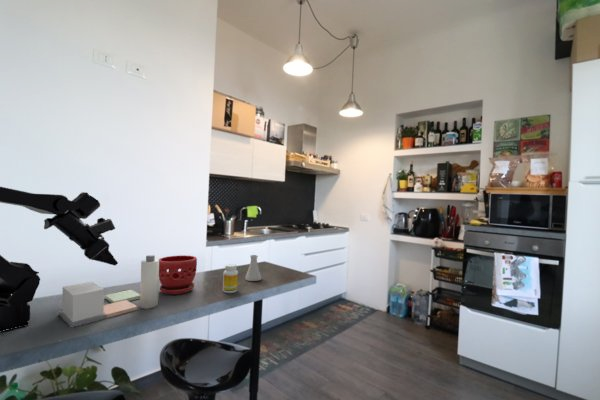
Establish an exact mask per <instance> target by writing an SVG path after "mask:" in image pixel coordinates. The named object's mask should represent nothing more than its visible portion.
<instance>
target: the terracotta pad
mask: <svg viewBox="0 0 600 400" xmlns="http://www.w3.org/2000/svg"><path fill="white" fill-rule="evenodd" d="M137 310H138V305H135V304H134V303H132V302H131V301H127V300H123V301H119V302H115V303H111V302H110V303H107V304H104V313H106V314H107V318H106V319H109V318H112V317H116V316H119V315H120V316H121V315H123V314H126V313H127V314H128V313H131V312H134V311H137Z"/></svg>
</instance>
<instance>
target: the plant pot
mask: <svg viewBox="0 0 600 400" xmlns="http://www.w3.org/2000/svg"><path fill="white" fill-rule="evenodd" d="M158 260H159V282H160V284H161V285H160V286H159V290H160V292H161V293H163V294H166V295H181V294H182V295H183V294H186V293H189V292H190V291H192V290H193V289H194V288H195V282H194V279H195V277H196V273H197V266H198V258H197V257H196V256H193V255H170V256H164V257H160V258H159V259H158ZM179 270H180V271H179Z"/></svg>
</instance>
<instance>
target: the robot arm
mask: <svg viewBox="0 0 600 400" xmlns="http://www.w3.org/2000/svg"><path fill="white" fill-rule="evenodd" d="M0 203H1V204H6V205H7V204H8V205H13V206H20V207H22V208H26V209H28V210H30V211H33V212H36V213H39V214H42V215H53V216H52V217H51V218H50V217H48V218H45V219H44V220H43V221H44V225H43V229H44V230H47V229H49V228H51V227H54V228H56V229H57V230H59V231H60V232H61V233H62V234H63V235H64V236H66V237H67V238H68V240H70V241H72V242H73V243H75V244H76V245H77V246H79V247H80V250H82V251H83V255H84V256H85V257H86V258H87V259H89V260H91V261H96V262H100V263H105V264H107V265H112V266H117V265H118V264H119V262H118V261H117V260H116V258H115V257H114V255H113V254H112V253H111V251H110V250H109V248H110V244H109V243H108V241H107V240H105V237H104V236H103V234H104V233H106V232H110V231H113V230H115V229H116V226H115V224H114V222H113V221H112V219H111V218H106V219H105V218H104V217H100V218H97V220H96V223H94V224H91V225H90V224H88V223H86V222H84V221H83V220H85V219H87V218H89V217H90V216H91V215H92V214H94V212H96V211H97V209H99V208H100V207H101V203H100V201H99V200H98V199H96V198H95V197H94V196H92V195H90V194H89V193H88V192H85V191H84V192H83V191H81V193H79V194H78V196H76V197H75V198H73V199H72V200H70V199H68V196H66V195H64V194H47V193H33V192H27V191H24V190H18V189H13V188H8V187H4V186H0ZM81 219H83V220H81ZM38 274H40V272H39V271H36V270H34V269H33V267H31V266H30V264H29V263H25V262H16V261H15V262H14V261H9V260H8V259H6V258H5V257H3V255H1V254H0V331H3V330H6V329H11V328H15V327H19V326H24V325H28V324H29V321H30V320H31V305H30V304H29V303H30V302H33V300H34V297H35V294H36V291H37V289H38V287H39V286H40V281H41V277H40V276H39V275H38ZM28 326H29V325H28ZM24 327H25V326H24ZM3 332H4V331H3Z"/></svg>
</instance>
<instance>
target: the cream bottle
mask: <svg viewBox="0 0 600 400" xmlns="http://www.w3.org/2000/svg"><path fill="white" fill-rule="evenodd" d="M159 282H160V280H159V259H157V258H156V257H155V255H154V254H149V255H146V256H145V259H143V260H141V261H140V293H139V294H140V299H139V301H140V302H139V307H140V308H141V309H151V308H152V309H153V308H155V307H157V306H158V305H159V287H160V286H159Z"/></svg>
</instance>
